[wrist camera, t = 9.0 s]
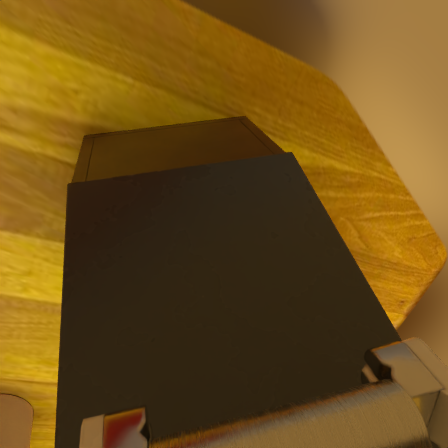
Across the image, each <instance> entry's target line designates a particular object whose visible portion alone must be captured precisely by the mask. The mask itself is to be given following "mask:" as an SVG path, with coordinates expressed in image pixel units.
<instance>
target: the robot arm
mask: <svg viewBox="0 0 448 448" xmlns="http://www.w3.org/2000/svg"><path fill="white" fill-rule="evenodd" d="M364 360H365V361H366V363H367V364H366V365H365V366H364V367H363V368H362V370H361V382H362V385H363V384H367V383H371V382H375V381H379V380H383V379H391V380H393V381H395V382H397V383H399V384H400V385H401V386H402V387H403V388H404V389H405V390H406V391H407V392H408V393H409V395H410V396H411V397H412V399H413V400H414V402H415V403H416V405H417V407H418V408H419V410H420V412H421V414H422V416H423V419H424V421H425V423H426V426H427V429H428V432H429V435H430V439H431V441H432V442H434V443H435V444H437V445H438V446H439V447H441V448H448V367H447V366H446V365H445V364H444V363H443V362H442V361H441V360H440V359H439V358H438V356H437V355H436V354H435V353H434V352H433V351H432V350H431V349H430V348H429V347H428V346H427V345H426V344H425V343H424V341H423V340H422V339H420V338H418V337H414V338H410V339H406V340H403V341H396V342H393V343H389V344H385V345H381V346H378V347H374V348H370V349H367V351H366V352H365V354H364ZM153 438H154V435H153V430H152V426H151V423H149V416H148V410H147V407H146V405H142V406H138V407H133V408H129V409H125V410H120V411H116V412H112V413H107V414H102V415H98V416H94V417H90V418H86V419H83V422H82V425H81V433H80V444H79V448H148V442H149V440H151V439H153Z"/></svg>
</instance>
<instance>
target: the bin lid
mask: <svg viewBox="0 0 448 448" xmlns="http://www.w3.org/2000/svg"><path fill="white" fill-rule="evenodd" d="M396 341H402V340H401V338H400V337H399V335H398V333H397V332H396V330H395V328H394V326H393V325H392V323H391V321H390V320H389V318H388V316H387V314H386V313H385V311H384V309H383V308H382V306H381V304H380V302H379V301H378V299H377V297H376V296H375V294H374V292H373V290H372V289H371V287H370V285H369V284H368V282H367V280H366V278H365V277H364V275H363V273H362V271H361V270H360V268H359V266H358V265H357V263H356V261H355V259H354V258H353V256H352V254H351V253H350V251H349V249H348V247H347V246H346V244H345V242H344V241H343V239H342V237H341V235H340V234H339V232H338V230H337V229H336V227H335V225H334V223H333V222H332V220H331V218H330V217H329V215H328V213H327V211H326V210H325V208H324V206H323V205H322V203H321V201H320V199H319V198H318V196H317V194H316V193H315V191H314V189H313V187H312V186H311V184H310V182H309V181H308V179H307V177H306V175H305V174H304V172H303V170H302V169H301V167H300V165H299V163H298V162H297V160H296V158H295V156H294V155H293V153H292V152H288V153H280V154H273V155H266V156H259V157H252V158H245V159H238V160H231V161H224V162H216V163H209V164H202V165H195V166H188V167H181V168H174V169H167V170H160V171H153V172H145V173H138V174H131V175H124V176H117V177H110V178H103V179H96V180H89V181H82V182H74V183H69V184H68V185H67V204H66V225H65V245H64V265H63V286H62V306H61V326H60V347H59V367H58V388H57V408H56V428H55V448H79V444H80V433H81V425H82V422H83V419H86V418H90V417H94V416H98V415H102V414H107V413H112V412H116V411H120V410H125V409H129V408H133V407H138V406H142V405H146V407H147V410H148V416H149V423H151V426H152V430H153V435H154V438H153V439H151V440H149V442H148V448H441V447H439V446H438V445H437V444H435V443H434V442H432V441H431V439H430V435H429V432H428V429H427V426H426V423H425V421H424V419H423V416H422V414H421V412H420V410H419V408H418V407H417V405H416V403H415V402H414V400H413V399H412V397H411V396H410V395H409V393H408V392H407V391H406V390H405V389H404V388H403V387H402V386H401V385H400V384H399V383H397V382H395V381H393V380H391V379H383V380H379V381H375V382H371V383H367V384H363V385H362V382H361V370H362V368H363V367H364V366H365V365H366V364H367V363H366V361H365V360H364V354H365V352H366V351H367V349H370V348H374V347H378V346H381V345H385V344H389V343H393V342H396Z"/></svg>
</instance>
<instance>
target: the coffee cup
mask: <svg viewBox="0 0 448 448" xmlns="http://www.w3.org/2000/svg"><path fill="white" fill-rule="evenodd" d="M32 421H33V409H32V407H31V405H30V404H29V403H28V402H27V401H25V400H24V399H22V398H20V397H17V396H13V395H7V394H0V448H29V447H30V438H31V429H32Z"/></svg>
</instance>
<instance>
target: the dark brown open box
mask: <svg viewBox="0 0 448 448" xmlns="http://www.w3.org/2000/svg"><path fill="white" fill-rule="evenodd" d="M280 153H286V152H284V151H283V150H282V149H281V148H280V147H279V146H278V145H277V144H276V143H274V142H273V141H272V140H271V139H270V138H269V137H268V136H267V135H266V134H265V133H263V132H262V131H261V130H260V129H259V128H258V127H257V126H256V125H255V124H253V123H252V122H251V121H250V120H249V119H248V118H247V117H246V116H242V117H234V118H225V119H217V120H209V121H201V122H193V123H184V124H176V125H168V126H160V127H151V128H143V129H135V130H127V131H119V132H110V133H102V134H94V135H86V136H84V138H83V142H82V146H81V149H80V153H79V157H78V160H77V164H76V167H75V171H74V175H73V178H72V182H71V183H74V182H82V181H89V180H96V179H103V178H110V177H117V176H124V175H131V174H138V173H145V172H153V171H160V170H167V169H174V168H181V167H188V166H195V165H202V164H209V163H216V162H224V161H231V160H238V159H245V158H252V157H259V156H266V155H273V154H280Z"/></svg>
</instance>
